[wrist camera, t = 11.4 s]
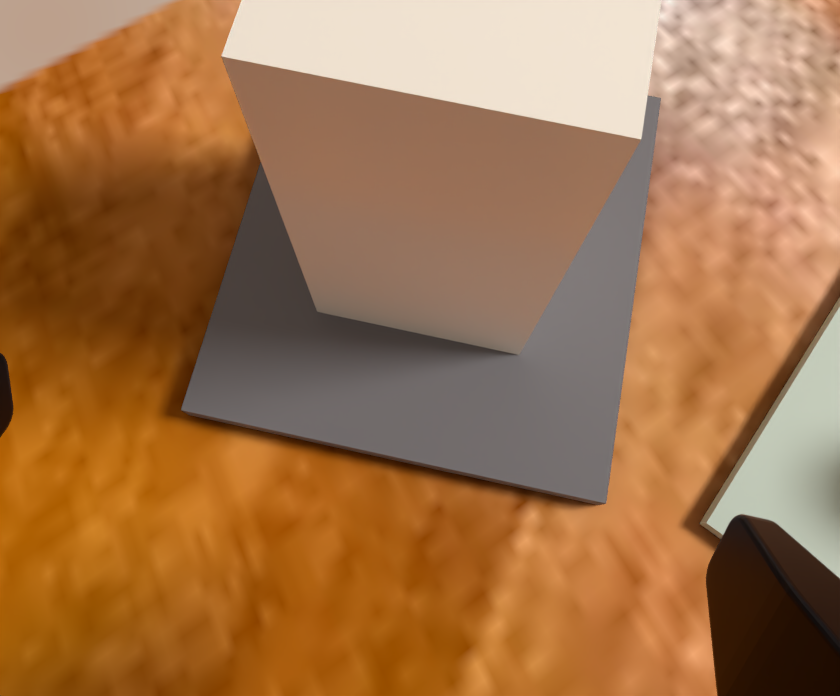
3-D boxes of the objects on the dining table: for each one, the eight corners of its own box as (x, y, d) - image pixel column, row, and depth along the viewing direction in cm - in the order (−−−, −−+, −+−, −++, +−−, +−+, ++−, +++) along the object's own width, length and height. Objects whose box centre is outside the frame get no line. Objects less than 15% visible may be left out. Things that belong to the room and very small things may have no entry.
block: (519, 354, 17) (641, 139, 8) (317, 311, 17) (221, 56, 8) (552, 174, 18) (686, -175, 9) (365, 137, 18) (327, -239, 10)
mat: (599, 505, 16) (606, 503, 16) (188, 415, 17) (180, 409, 16) (653, 111, 19) (660, 98, 19) (306, 44, 20) (303, 29, 19)
